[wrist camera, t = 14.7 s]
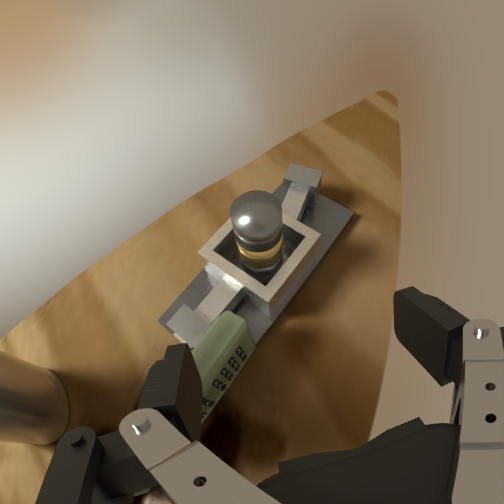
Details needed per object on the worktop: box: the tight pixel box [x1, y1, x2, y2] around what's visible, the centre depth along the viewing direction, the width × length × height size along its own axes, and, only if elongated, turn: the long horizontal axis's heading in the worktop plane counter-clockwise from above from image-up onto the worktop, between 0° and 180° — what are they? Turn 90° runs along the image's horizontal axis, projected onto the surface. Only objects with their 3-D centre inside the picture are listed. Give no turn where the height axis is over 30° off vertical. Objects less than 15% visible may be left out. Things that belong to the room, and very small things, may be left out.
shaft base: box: [158, 163, 354, 351], centre depth 32 cm, size 22×9×5 cm, turn 142°
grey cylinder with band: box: [230, 190, 283, 283], centre depth 29 cm, size 4×4×9 cm
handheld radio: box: [134, 311, 256, 496], centre depth 23 cm, size 7×3×25 cm
